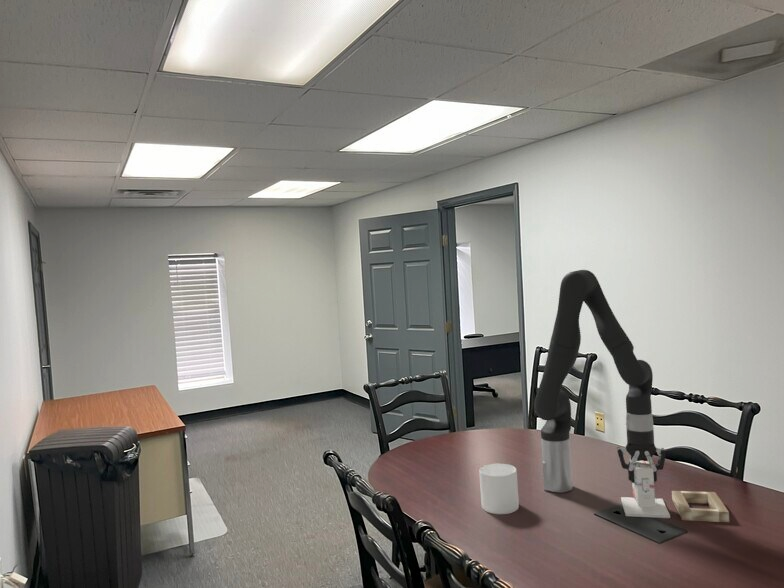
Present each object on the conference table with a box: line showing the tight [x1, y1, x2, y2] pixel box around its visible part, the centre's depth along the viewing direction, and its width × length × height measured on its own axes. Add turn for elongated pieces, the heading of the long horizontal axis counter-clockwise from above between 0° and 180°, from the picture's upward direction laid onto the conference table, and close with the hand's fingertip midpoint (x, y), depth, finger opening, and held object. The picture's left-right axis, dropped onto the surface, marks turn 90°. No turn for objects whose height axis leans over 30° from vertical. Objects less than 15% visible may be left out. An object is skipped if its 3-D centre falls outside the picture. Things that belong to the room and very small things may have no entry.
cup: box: [478, 462, 520, 515], centre depth 180 cm, size 12×12×12 cm
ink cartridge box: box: [631, 456, 656, 507], centre depth 171 cm, size 9×5×15 cm, turn 168°
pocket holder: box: [671, 490, 730, 523], centre depth 167 cm, size 12×14×3 cm
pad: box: [620, 496, 671, 519], centre depth 171 cm, size 12×12×1 cm
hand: (642, 482), depth 171 cm, fingers closed on ink cartridge box, 5 cm apart
